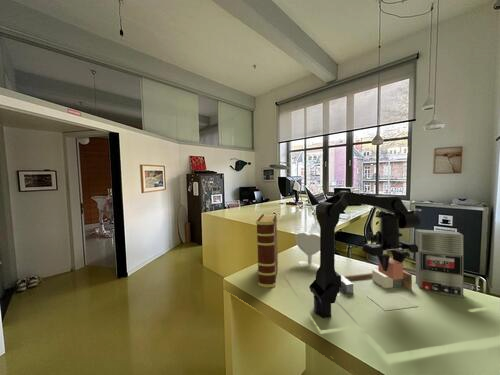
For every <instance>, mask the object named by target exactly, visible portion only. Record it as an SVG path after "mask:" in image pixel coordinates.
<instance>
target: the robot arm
mask: <svg viewBox="0 0 500 375" xmlns="http://www.w3.org/2000/svg"><path fill="white" fill-rule="evenodd" d="M350 203H353V204H360V205H366V206H371V207H373V208H375V209H377V210H380V211H379V212H378V213H376V215H375V216H374V217H375V218H378V219H380V230H378V231H377V234H374V233H373V232H366V234H365V240H366V241H367V242H370V243H364V244H363V245H362V252H364V253H367V254H368V255H370V256H373V257H377V258H378V259H379V261H380V263H381V266H382V268H383V270H384V271H387V268H388V263H389V258H391V256H390V254H388V253H387V252H388V251H389V252H391V254H392V259H394V260H396V261H399V262H401V263H404V260H406V258H407V257H408V256H410V253H412V254H416V252H418V246H417V245H416V243H414V242H410V241H407V240H400V237H403V233H401V232H400V230H401V229H403V230H405V229H414V228H418V227H420V225H421V220H420V217H419V216H418V214H416V213H415V212H416V211H415V210H413V209H408V208H407V207H406V205H405V204H404V202H403V201H402V198H401V197H399V196H395V195H394V196H393V195H375V196H374V195H369V194H365V193H364V194H363V193H359V192H358V193H357V192H352V191H350V190H340V191H339V192H337V193H336V194H334V195H332V196H330V197H329V198H327V199H325V200H324V201H320V202H319V203H318V204H317V205H316V206H315V216H316V217H315V218H316V220H317V223H318V225H319V234H320V251H319V253H320V254H319V265H320V267H319V268H317V271H316V273H315V279H314V280H313V282H312V283H311V284H310V285H309V287H308V288H309V290H310V292H311V293H312V294H313V312H314V314H315V315H317V316H319V318H322V319H327V318H331V317H332V304H335V303H336V301H337V297H338V295H337V294H338V293H339V291H340V287H341V275H342V274H341V273H338V272H337V271H336V270H335V259H336V258H335V249H336V248H335V245H336V244H335V233H336V231H335V230H336V227H337V226H338V224H339V222H340V216H341V214H342V213H344V211H346V210H347V208H348V206H349V204H350ZM407 250H408V251H409V252H407ZM378 259H377V260H378ZM340 274H341V275H340Z"/></svg>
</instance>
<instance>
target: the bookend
mask: <svg viewBox="0 0 500 375" xmlns="http://www.w3.org/2000/svg"><path fill="white" fill-rule="evenodd" d="M339 274H340V275H341V287H340V291H339V293H338V294H337V296H343V295H344V296H345V295H351V294H354V283H353V282H351V280H347V279H346V278H345V277H344V276H345V275H343V274H341V273H339Z"/></svg>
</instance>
